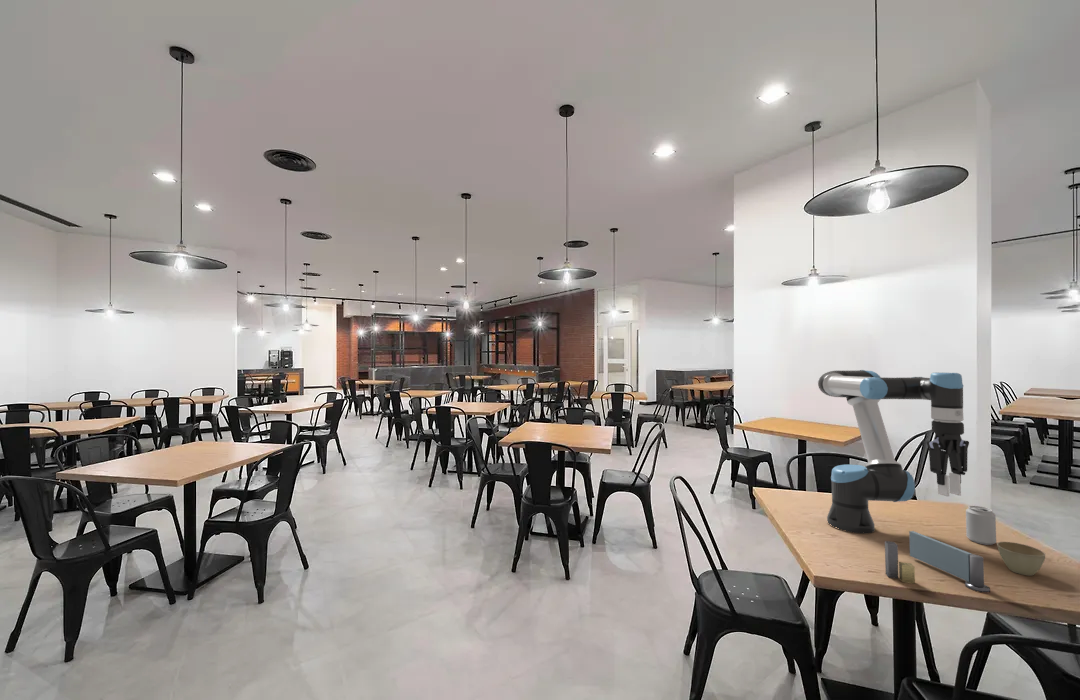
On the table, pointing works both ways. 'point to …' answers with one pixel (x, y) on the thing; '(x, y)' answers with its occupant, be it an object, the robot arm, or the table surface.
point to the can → (981, 525)
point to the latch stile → (892, 564)
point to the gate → (947, 558)
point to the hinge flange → (980, 589)
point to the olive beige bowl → (1021, 557)
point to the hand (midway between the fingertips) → (949, 494)
